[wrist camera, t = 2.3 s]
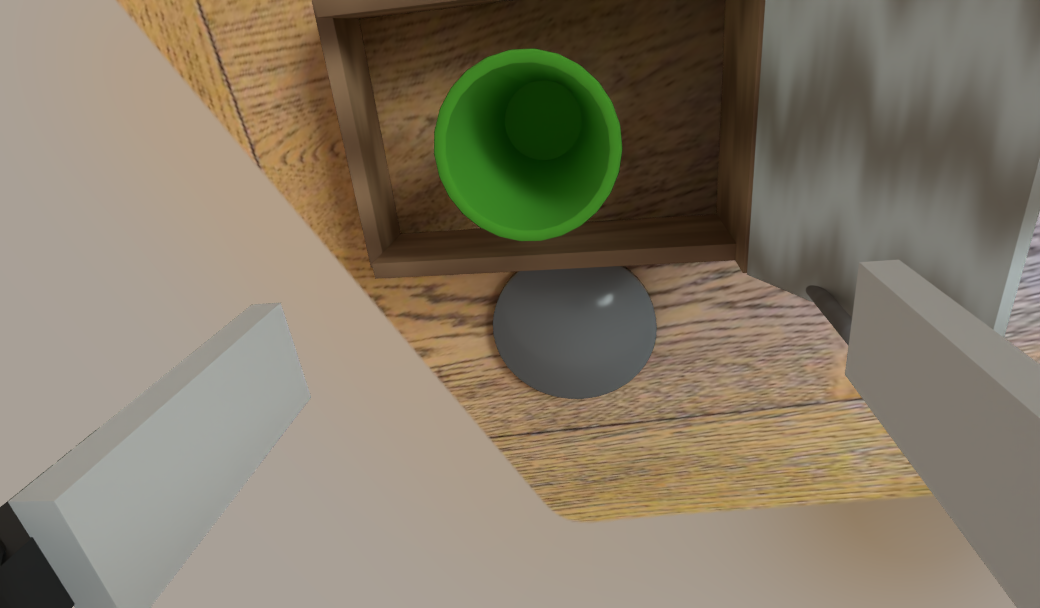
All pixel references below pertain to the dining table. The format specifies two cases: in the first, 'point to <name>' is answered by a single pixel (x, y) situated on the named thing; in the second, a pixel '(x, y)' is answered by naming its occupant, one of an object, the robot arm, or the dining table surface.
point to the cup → (528, 144)
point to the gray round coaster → (575, 329)
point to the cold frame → (791, 154)
